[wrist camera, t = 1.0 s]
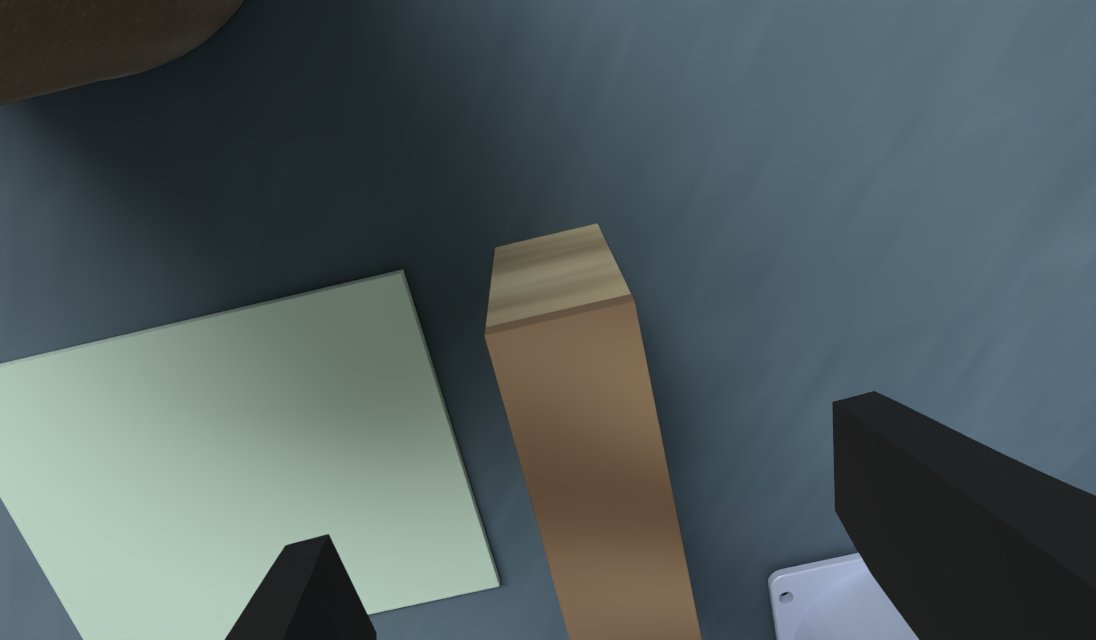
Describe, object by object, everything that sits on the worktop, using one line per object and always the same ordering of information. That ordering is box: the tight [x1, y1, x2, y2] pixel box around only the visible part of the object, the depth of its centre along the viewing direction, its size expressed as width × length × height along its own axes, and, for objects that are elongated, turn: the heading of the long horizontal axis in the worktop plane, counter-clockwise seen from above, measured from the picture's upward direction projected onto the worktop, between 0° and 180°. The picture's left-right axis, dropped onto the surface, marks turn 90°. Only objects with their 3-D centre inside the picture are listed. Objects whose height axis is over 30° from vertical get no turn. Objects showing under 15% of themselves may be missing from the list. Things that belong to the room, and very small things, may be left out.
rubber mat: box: [0, 269, 500, 640], centre depth 24 cm, size 12×15×1 cm
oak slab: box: [485, 224, 702, 640], centre depth 20 cm, size 10×3×8 cm, turn 13°
